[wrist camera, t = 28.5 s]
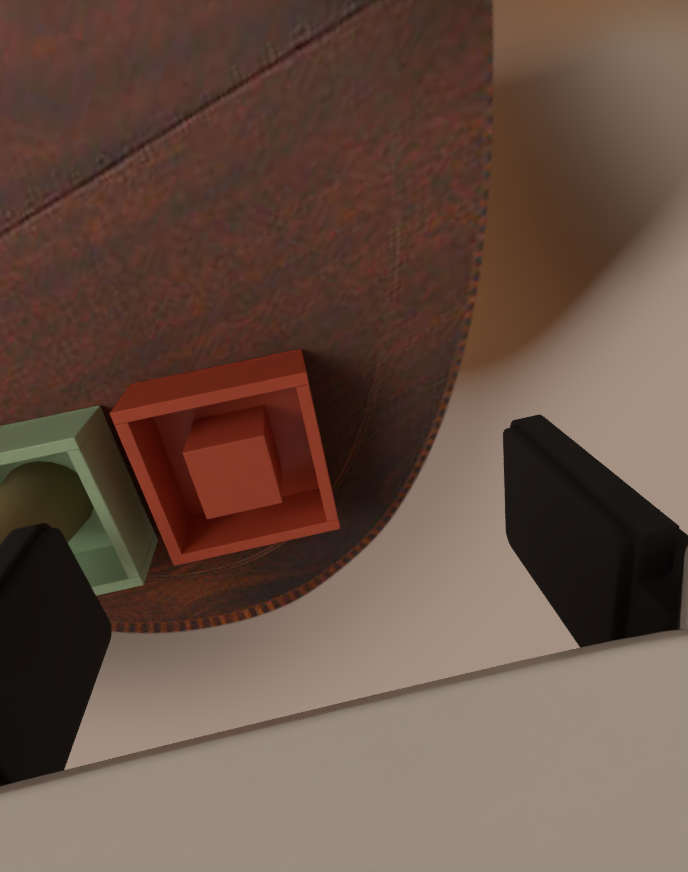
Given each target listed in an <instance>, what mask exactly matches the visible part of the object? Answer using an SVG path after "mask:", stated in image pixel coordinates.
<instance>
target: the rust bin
mask: <svg viewBox="0 0 688 872" xmlns="http://www.w3.org/2000/svg"><path fill="white" fill-rule="evenodd" d="M261 405H265V407H266V411H267V414H268V418H269V422H270V426H271V429H272V433H273V437H274V441H275V444H276V448H277V452H278V456H279V459H280V463H281V475H282V498H283V502H282V503H279V504H274V505H270V506H265V507H261V508H256V509H252V510H247V511H243V512H238V513H234V514H229V515H225V516H220V517H216V518H211V519H207V518H206V516H205V513H204V510H203V508H202V505H201V502H200V499H199V497H198V494H197V491H196V488H195V486H194V483H193V480H192V478H191V475H190V472H189V469H188V467H187V464H186V461H185V458H184V456H183V451H184V448H185V445H186V442H187V439H188V436H189V433H190V430H191V427H192V424H193V421H194V420H195V419H200V418H205V417H209V416H214V415H219V414H224V413H228V412H233V411H238V410H242V409H247V408H252V407H256V406H261ZM110 416H111V418H112V420H113V423H114V425H115V428H116V430H117V432H118V435H119V437H120V439H121V442H122V444H123V446H124V449H125V451H126V454H127V456H128V458H129V461H130V463H131V465H132V468H133V470H134V472H135V475H136V477H137V479H138V482H139V484H140V487H141V489H142V491H143V494H144V496H145V498H146V501H147V503H148V505H149V508H150V510H151V512H152V515H153V517H154V520H155V522H156V524H157V527H158V529H159V531H160V534H161V536H162V538H163V541H164V543H165V545H166V548H167V550H168V552H169V555H170V557H171V560H172V562H173V564H174V566H176V565H180V564H185V563H189V562H194V561H198V560H203V559H207V558H212V557H216V556H221V555H225V554H229V553H234V552H238V551H243V550H247V549H252V548H256V547H261V546H265V545H269V544H274V543H278V542H283V541H287V540H292V539H296V538H301V537H305V536H310V535H314V534H318V533H323V532H327V531H332V530H336V529H340V524H339V519H338V515H337V510H336V505H335V501H334V496H333V491H332V487H331V482H330V477H329V473H328V468H327V464H326V459H325V454H324V450H323V445H322V441H321V436H320V431H319V427H318V422H317V418H316V413H315V408H314V404H313V399H312V395H311V390H310V385H309V381H308V376H307V372H306V367H305V362H304V358H303V353H302V349H297V350H293V351H288V352H283V353H278V354H273V355H269V356H264V357H259V358H254V359H249V360H244V361H240V362H235V363H230V364H225V365H220V366H216V367H211V368H206V369H201V370H196V371H191V372H187V373H182V374H177V375H172V376H167V377H163V378H158V379H153V380H148V381H143V382H138V383H134V384H131V385H130V386H129V387H128V389H127V390H126V391H125V393H124V394H123V396H122V397H121V398H120V400H119V401H118V402H117V404H116V405H115V407H114V408H113V409H112V411H111V412H110Z"/></svg>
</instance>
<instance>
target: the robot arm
mask: <svg viewBox="0 0 688 872" xmlns="http://www.w3.org/2000/svg"><path fill="white" fill-rule="evenodd" d="M503 448H504V449H503V450H504V482H505V483H504V484H505V519H506V534H507V538H508V541H509V544H510V546H511V547H512V549H513V550H514V552H515V553H516V555H517V556H518V558H519V559H520V561H521V562H522V563H523V565H524V566H525V568H526V569H527V571H528V572H529V574H530V575H531V577H532V578H533V579H534V581H535V582H536V584H537V585H538V587H539V588H540V590H541V591H542V593H543V594H544V595H545V597H546V598H547V600H548V601H549V603H550V604H551V606H552V607H553V609H554V610H555V611H556V613H557V614H558V616H559V617H560V619H561V620H562V622H563V623H564V625H565V626H566V627H567V629H568V630H569V632H570V633H571V635H572V636H573V638H574V639H575V641H576V642H577V643H578V645H579V646H580V648H577V649H572V650H568V651H563V652H559V653H554V654H549V655H545V656H541V657H536V658H531V659H526V660H522V661H517V662H513V663H509V664H505V665H500V666H496V667H492V668H488V669H483V670H479V671H475V672H471V673H466V674H462V675H458V676H454V677H449V678H445V679H441V680H437V681H432V682H428V683H424V684H419V685H415V686H411V687H406V688H402V689H398V690H394V691H389V692H385V693H381V694H377V695H372V696H368V697H364V698H360V699H356V700H351V701H347V702H343V703H339V704H335V705H331V706H326V707H322V708H318V709H314V710H310V711H306V712H301V713H297V714H294V715H289V716H285V717H281V718H276V719H272V720H269V721H264V722H260V723H256V724H252V725H247V726H243V727H239V728H235V729H231V730H227V731H223V732H218V733H214V734H210V735H206V736H202V737H198V738H194V739H189V740H186V741H181V742H177V743H173V744H169V745H165V746H161V747H157V748H153V749H149V750H145V751H141V752H137V753H133V754H129V755H125V756H120V757H116V758H112V759H108V760H105V761H100V762H96V763H92V764H88V765H84V766H80V767H76V768H72V769H68V770H64V768H65V765H66V763H67V760H68V757H69V755H70V752H71V749H72V746H73V743H74V740H75V738H76V735H77V732H78V729H79V726H80V724H81V721H82V718H83V715H84V712H85V710H86V707H87V704H88V701H89V698H90V696H91V693H92V690H93V687H94V684H95V682H96V678H97V676H98V673H99V670H100V668H101V665H102V662H103V659H104V656H105V654H106V651H107V648H108V645H109V642H110V639H111V624H110V621H109V619H108V617H107V615H106V613H105V611H104V610H103V608H102V606H101V604H100V602H99V600H98V598H97V597H96V595H95V593H94V591H93V589H92V587H91V585H90V584H89V582H88V580H87V578H86V576H85V574H84V572H83V570H82V569H81V567H80V565H79V563H78V561H77V559H76V557H75V556H74V554H73V552H72V550H71V548H70V546H69V544H68V543H67V541H66V539H65V537H64V535H63V533H62V532H61V530H59V529H58V528H52V527H51V526H50V525H49V524H47V523H40V524H36V525H31V526H27V527H22V528H17V529H14V530H12V531H11V532H10V533H9V534H8V536H7V537H6V538H5V539H4V541H3V542H2V543H1V545H0V872H688V535H687V534H685V533H684V532H683V531H682V530H680V529H679V526H678V525H677V524H676V523H675V522H673V521H672V520H671V519H670V518H668V517H667V516H666V515H665V514H663V513H662V512H661V511H660V510H659V509H657V508H656V507H655V506H654V505H652V504H651V503H650V502H649V501H647V500H646V499H645V498H644V497H642V496H641V495H640V494H639V493H637V492H636V491H635V490H634V489H633V488H631V487H630V486H629V485H628V484H626V483H625V482H624V481H623V480H621V479H620V478H619V477H618V476H616V475H615V474H614V473H613V472H612V471H610V470H609V469H608V468H607V467H605V466H604V465H603V464H602V463H600V462H599V461H598V460H597V459H595V458H594V457H593V456H592V455H590V454H589V453H588V452H587V451H586V450H584V449H583V448H582V447H580V446H579V445H578V444H577V443H576V442H574V441H573V440H572V439H571V438H569V437H568V436H567V435H566V434H564V433H563V432H562V431H561V430H560V429H558V428H557V427H556V426H555V425H553V424H552V423H551V422H550V421H548V420H547V419H546V418H545V417H543V416H542V415H535V416H531V417H526V418H521V419H517V420H513V421H512V422H511V425H510V428H508V429H505V430H504V432H503Z"/></svg>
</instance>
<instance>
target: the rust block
mask: <svg viewBox="0 0 688 872" xmlns="http://www.w3.org/2000/svg"><path fill="white" fill-rule="evenodd" d="M183 456H184V458H185V461H186V464H187V467H188V469H189V472H190V475H191V478H192V480H193V483H194V486H195V488H196V491H197V494H198V497H199V499H200V502H201V505H202V508H203V510H204V513H205V516H206V518H207V519H211V518H216V517H220V516H225V515H229V514H234V513H238V512H243V511H247V510H252V509H256V508H261V507H265V506H270V505H274V504H279V503H282V502H283V498H282V475H281V463H280V459H279V456H278V452H277V448H276V444H275V441H274V437H273V433H272V429H271V426H270V422H269V418H268V414H267V411H266V407H265V405H261V406H256V407H252V408H247V409H242V410H238V411H233V412H228V413H224V414H219V415H214V416H209V417H205V418H200V419H195V420H194V421H193V424H192V427H191V430H190V433H189V436H188V439H187V442H186V445H185V448H184V451H183Z"/></svg>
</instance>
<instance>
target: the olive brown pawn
mask: <svg viewBox="0 0 688 872" xmlns="http://www.w3.org/2000/svg"><path fill="white" fill-rule="evenodd" d="M93 508H94V506H93V504H92V502H91V500H90V498H89V496H88V494H87V492H86V490H85V488H84V486H83V484H82V482H81V480H80V477H79V475H78V473H76V472H75V471H73V470H71V469H70V468H68V467H66V466H63V465H60V464H57V463H53V462H43V461H35V462H30V463H26V464H22V465H20V466H19V467H17V468H15V469H13V470H12V471H11V472H10V473H9V474H8V476H7V477H6V478H5V479H4V481H3V482H2V484H1V486H0V545H1V543H2V542H3V541H4V539H5V538H6V537H7V536H8V534H9V533H10V532H11V531H12V530H14V529H17V528H22V527H27V526H31V525H36V524H40V523H47V524H49V525H50V526H51V527H52V528H58V529H59V530H61V532H62V533H63V535H64V537H65V539H66V541H67V543H68V542H69V541H70V540H71V539H72V538H73V536H74V535H75V534H76V533H77V532H78V531H79V529H80V528H81V527H82V526H83V525H84V524H85V522H86V521H87V520H88V519H89V518H90V517H91V514H92V511H93Z"/></svg>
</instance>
